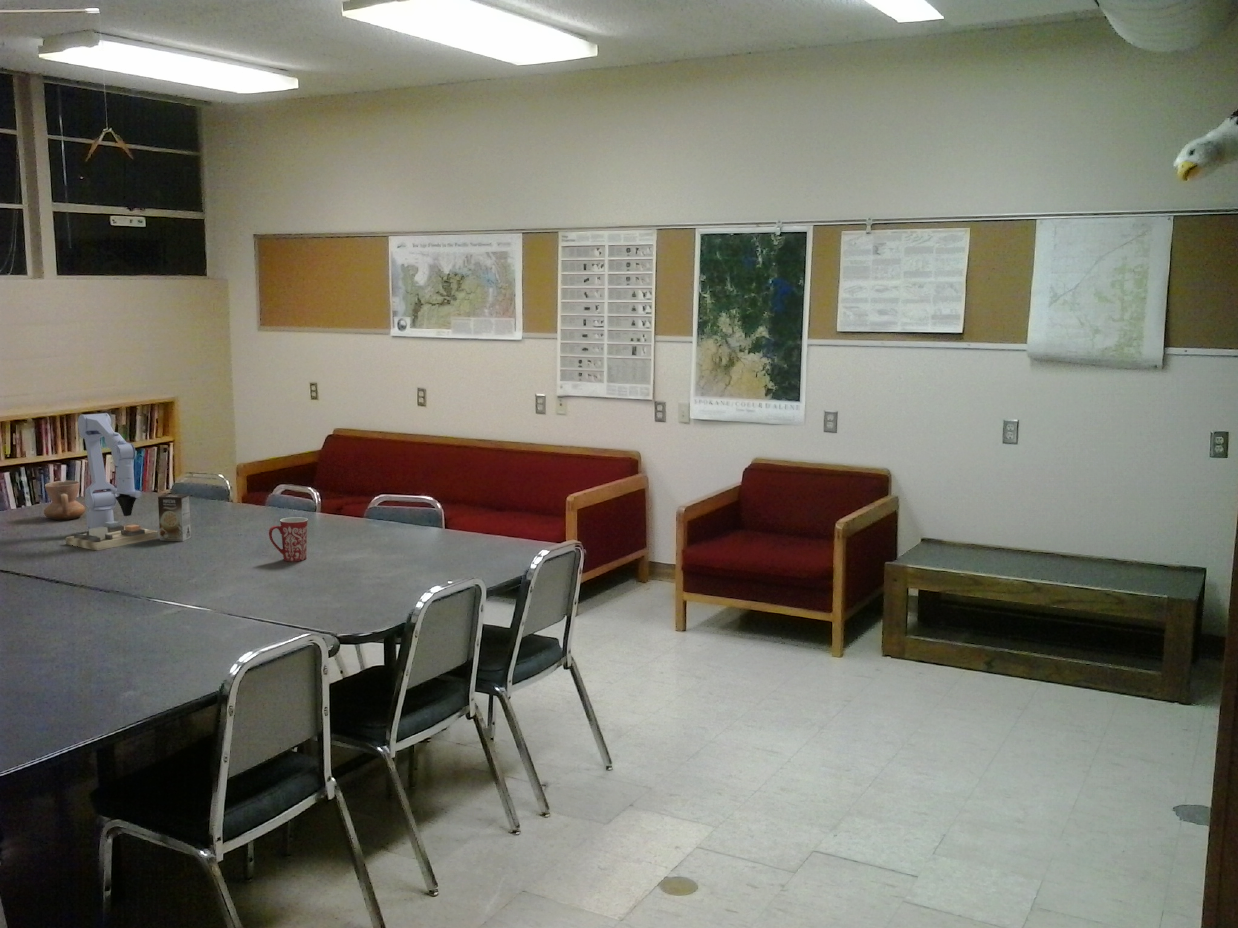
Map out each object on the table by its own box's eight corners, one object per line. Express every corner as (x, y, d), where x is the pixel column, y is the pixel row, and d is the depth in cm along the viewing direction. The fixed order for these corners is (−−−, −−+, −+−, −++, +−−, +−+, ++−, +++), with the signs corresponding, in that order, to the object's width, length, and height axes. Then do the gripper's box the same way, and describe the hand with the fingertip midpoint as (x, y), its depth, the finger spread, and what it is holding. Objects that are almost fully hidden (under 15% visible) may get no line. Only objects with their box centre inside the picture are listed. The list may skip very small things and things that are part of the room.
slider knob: (89, 540, 377) (88, 528, 376) (102, 537, 381) (102, 526, 380) (94, 541, 375) (94, 529, 375) (108, 538, 379) (107, 527, 379)
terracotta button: (125, 530, 387) (124, 526, 386) (134, 528, 390) (133, 524, 389) (131, 531, 385) (131, 527, 384) (140, 529, 388) (140, 525, 388)
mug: (306, 555, 367) (305, 515, 366) (311, 560, 359) (310, 520, 357) (268, 558, 362) (266, 519, 360) (272, 564, 354) (270, 524, 352)
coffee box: (158, 540, 388) (156, 496, 386) (168, 537, 395) (165, 493, 392) (183, 541, 387) (181, 497, 385) (192, 537, 394) (189, 494, 391)
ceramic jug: (45, 515, 432) (41, 480, 430) (85, 512, 439) (82, 478, 436) (44, 525, 416) (40, 488, 414) (86, 521, 423) (83, 485, 420)
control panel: (66, 544, 382) (65, 533, 381) (127, 532, 402) (126, 521, 402) (97, 550, 373) (96, 539, 372) (158, 537, 393) (157, 527, 392)
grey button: (104, 526, 393) (104, 522, 392) (113, 524, 396) (113, 520, 396) (110, 527, 391) (110, 523, 391) (119, 526, 394) (119, 521, 394)
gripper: (102, 477, 384) (104, 515, 386) (127, 481, 376) (129, 519, 378) (120, 474, 390) (122, 512, 392) (145, 478, 382) (147, 516, 384)
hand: (127, 515), depth 385 cm, fingers closed
